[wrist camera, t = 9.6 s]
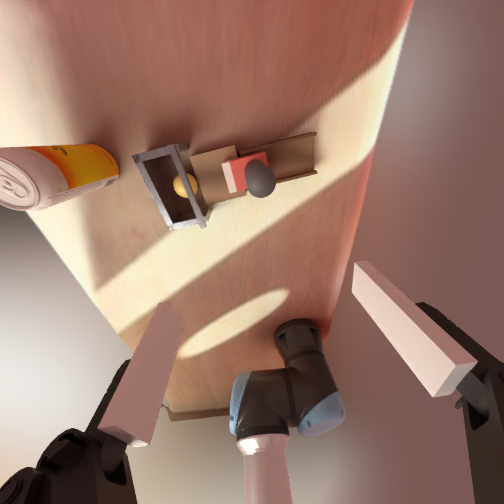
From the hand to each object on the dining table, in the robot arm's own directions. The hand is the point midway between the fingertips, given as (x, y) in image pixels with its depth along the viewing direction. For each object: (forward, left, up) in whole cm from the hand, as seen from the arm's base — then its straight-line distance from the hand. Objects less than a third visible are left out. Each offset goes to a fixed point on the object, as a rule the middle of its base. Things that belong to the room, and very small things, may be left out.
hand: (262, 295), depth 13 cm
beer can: (+11, +22, -26) cm, 36 cm away
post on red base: (+5, -1, -24) cm, 24 cm away
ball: (+5, +10, -24) cm, 26 cm away
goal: (+5, +11, -26) cm, 29 cm away
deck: (+5, +4, -26) cm, 27 cm away
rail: (+5, -7, -26) cm, 27 cm away
